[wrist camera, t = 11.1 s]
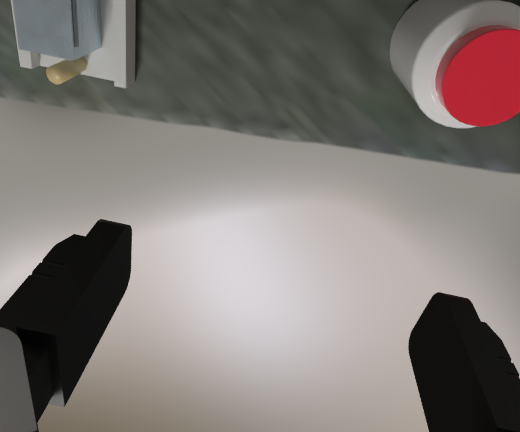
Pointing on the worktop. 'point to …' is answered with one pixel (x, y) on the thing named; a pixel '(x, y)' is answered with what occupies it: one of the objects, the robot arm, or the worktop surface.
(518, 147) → the worktop surface
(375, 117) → the worktop surface
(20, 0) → the block
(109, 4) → the white peg stand
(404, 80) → the pill bottle
